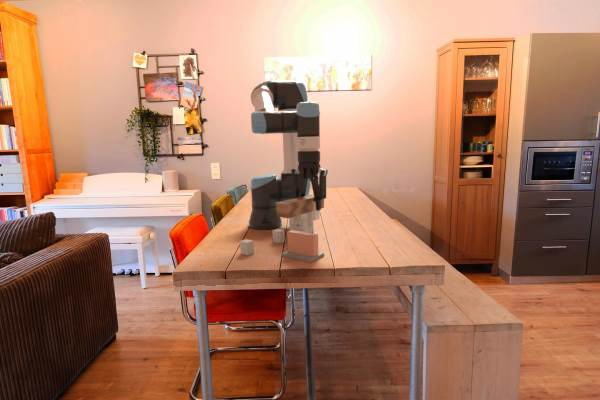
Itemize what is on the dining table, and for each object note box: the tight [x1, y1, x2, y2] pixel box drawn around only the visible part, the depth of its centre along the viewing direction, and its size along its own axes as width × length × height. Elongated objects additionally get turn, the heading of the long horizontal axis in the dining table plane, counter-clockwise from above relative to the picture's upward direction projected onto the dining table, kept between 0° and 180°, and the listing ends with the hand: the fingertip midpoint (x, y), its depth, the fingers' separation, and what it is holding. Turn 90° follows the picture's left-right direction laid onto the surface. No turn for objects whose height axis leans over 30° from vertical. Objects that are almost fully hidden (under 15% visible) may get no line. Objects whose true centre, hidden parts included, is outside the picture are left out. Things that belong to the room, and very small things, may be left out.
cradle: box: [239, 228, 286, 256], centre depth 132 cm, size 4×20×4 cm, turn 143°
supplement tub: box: [288, 211, 315, 234], centre depth 143 cm, size 10×10×15 cm
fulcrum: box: [281, 230, 325, 264], centre depth 121 cm, size 12×8×8 cm, turn 53°
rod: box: [277, 193, 325, 219], centre depth 118 cm, size 20×4×4 cm, turn 143°
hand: (310, 218), depth 123 cm, fingers closed on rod, 4 cm apart
